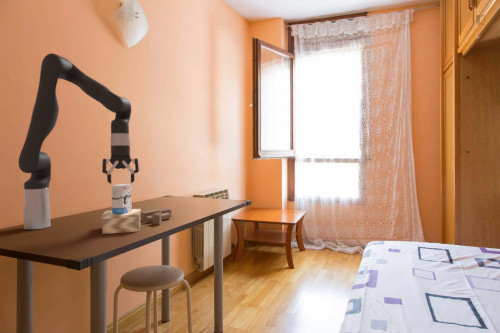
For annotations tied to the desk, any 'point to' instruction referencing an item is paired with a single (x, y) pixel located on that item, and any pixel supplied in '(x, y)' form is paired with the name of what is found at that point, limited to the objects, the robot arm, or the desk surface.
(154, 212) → the wooden block set
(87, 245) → the desk surface
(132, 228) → the chevron patterned box
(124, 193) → the ink box
